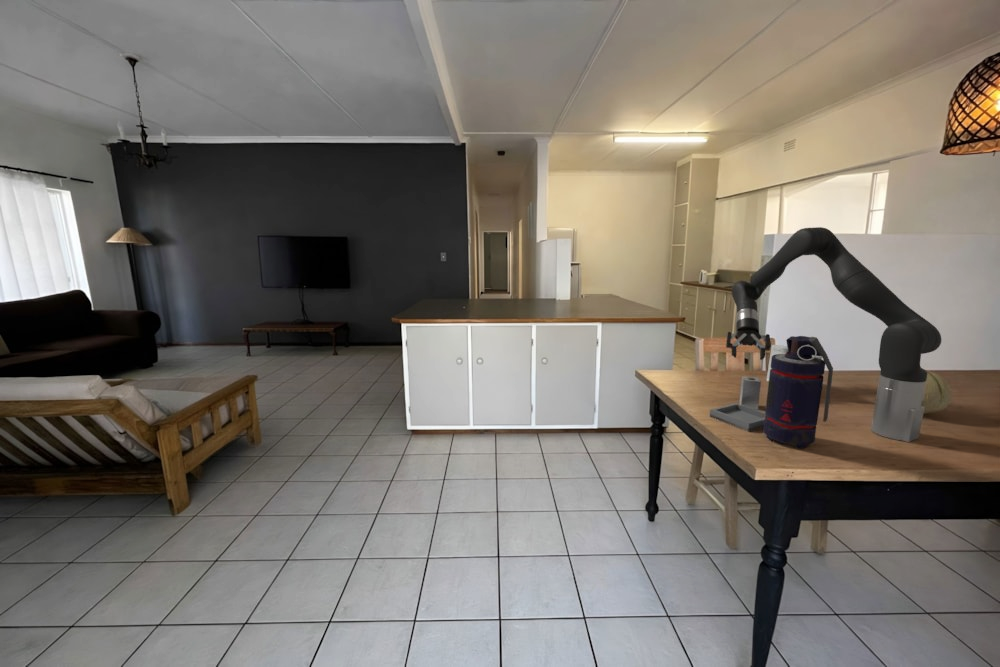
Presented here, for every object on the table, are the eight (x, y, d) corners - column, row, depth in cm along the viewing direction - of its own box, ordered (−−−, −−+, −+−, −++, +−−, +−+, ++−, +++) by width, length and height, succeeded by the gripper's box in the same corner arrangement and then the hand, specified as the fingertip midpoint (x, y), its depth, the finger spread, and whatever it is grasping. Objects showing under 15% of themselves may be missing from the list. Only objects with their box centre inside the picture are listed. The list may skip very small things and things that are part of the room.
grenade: (758, 439, 112) (769, 337, 106) (767, 427, 120) (779, 331, 115) (819, 456, 102) (835, 344, 97) (825, 441, 110) (840, 337, 105)
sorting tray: (775, 423, 123) (776, 416, 122) (748, 431, 117) (749, 423, 117) (735, 409, 134) (736, 403, 134) (709, 416, 129) (710, 409, 129)
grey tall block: (755, 404, 139) (758, 377, 137) (757, 409, 135) (760, 381, 133) (739, 402, 141) (742, 375, 139) (740, 407, 137) (743, 379, 135)
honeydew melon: (942, 425, 120) (951, 378, 117) (878, 410, 132) (885, 367, 129) (952, 414, 128) (961, 370, 125) (890, 401, 140) (898, 361, 137)
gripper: (727, 316, 154) (727, 350, 146) (771, 317, 148) (773, 353, 139) (725, 327, 159) (725, 360, 151) (767, 329, 153) (769, 364, 145)
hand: (748, 357), depth 145 cm, fingers open, 8 cm apart
